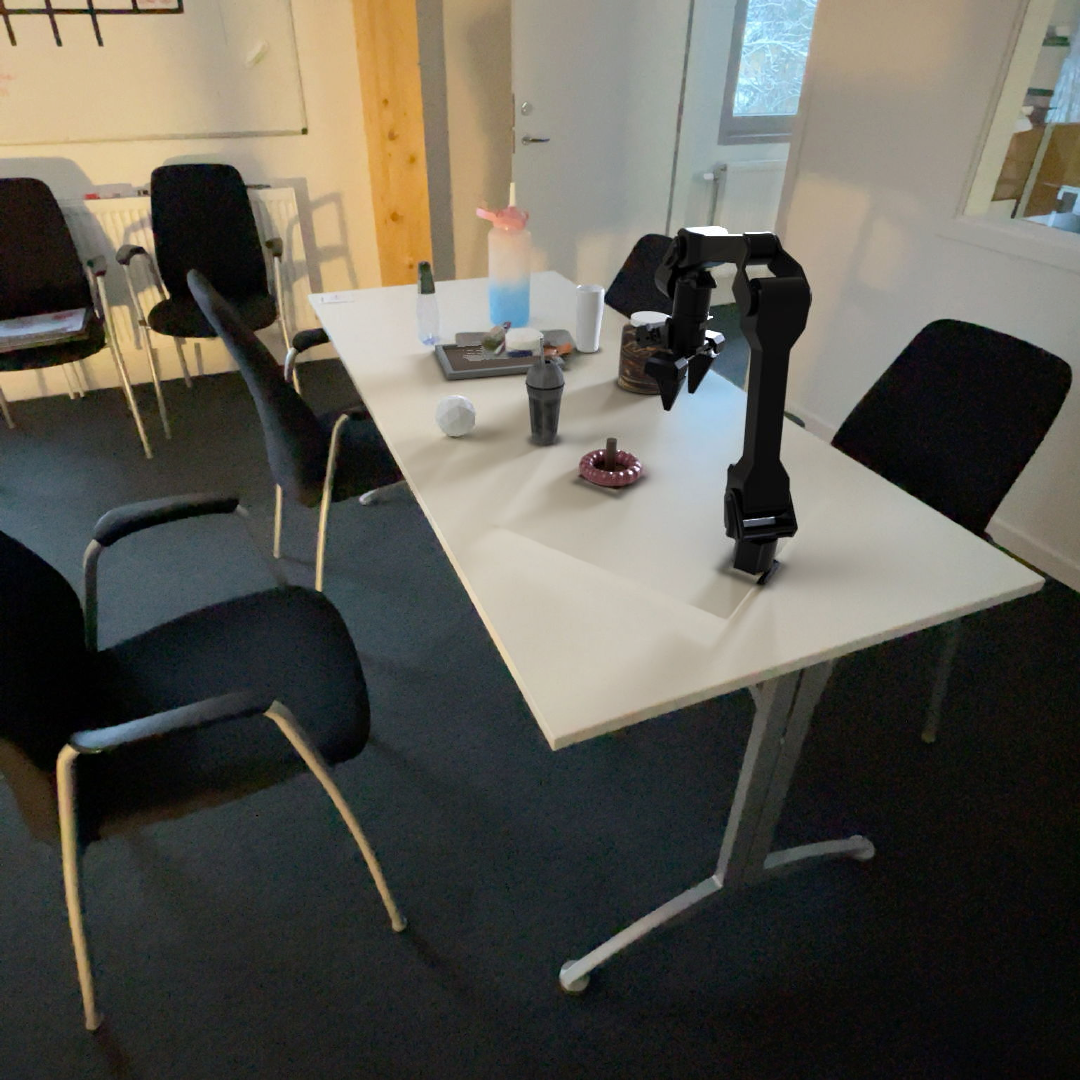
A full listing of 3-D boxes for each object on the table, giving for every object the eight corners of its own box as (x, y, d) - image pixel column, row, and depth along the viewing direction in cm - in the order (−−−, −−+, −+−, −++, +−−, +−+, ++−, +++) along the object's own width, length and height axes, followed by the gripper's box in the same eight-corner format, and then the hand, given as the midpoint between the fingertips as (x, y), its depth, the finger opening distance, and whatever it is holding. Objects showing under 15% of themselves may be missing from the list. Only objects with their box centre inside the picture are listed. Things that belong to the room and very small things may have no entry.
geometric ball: (464, 450, 144) (468, 430, 136) (426, 432, 143) (428, 412, 136) (480, 419, 147) (485, 398, 139) (443, 402, 146) (446, 380, 139)
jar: (666, 374, 170) (673, 308, 162) (675, 394, 161) (683, 326, 152) (614, 374, 170) (619, 308, 162) (621, 394, 160) (626, 325, 152)
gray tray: (434, 344, 180) (553, 335, 187) (434, 351, 181) (553, 341, 188) (447, 373, 165) (576, 362, 172) (448, 380, 166) (576, 368, 172)
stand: (617, 496, 125) (620, 455, 120) (577, 482, 128) (579, 441, 124) (640, 477, 130) (644, 437, 126) (601, 464, 134) (603, 425, 130)
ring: (621, 495, 122) (622, 482, 121) (566, 476, 128) (567, 463, 126) (652, 470, 130) (653, 458, 128) (599, 453, 135) (600, 441, 134)
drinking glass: (583, 343, 187) (586, 282, 179) (606, 349, 184) (610, 287, 176) (568, 350, 183) (570, 288, 174) (591, 356, 179) (594, 293, 171)
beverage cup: (570, 439, 142) (575, 336, 131) (545, 452, 138) (547, 346, 126) (543, 428, 146) (544, 327, 135) (517, 439, 142) (516, 336, 130)
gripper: (672, 289, 129) (662, 374, 138) (617, 315, 117) (611, 407, 125) (732, 300, 124) (718, 389, 133) (682, 329, 111) (670, 425, 120)
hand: (679, 401), depth 128 cm, fingers open, 9 cm apart
